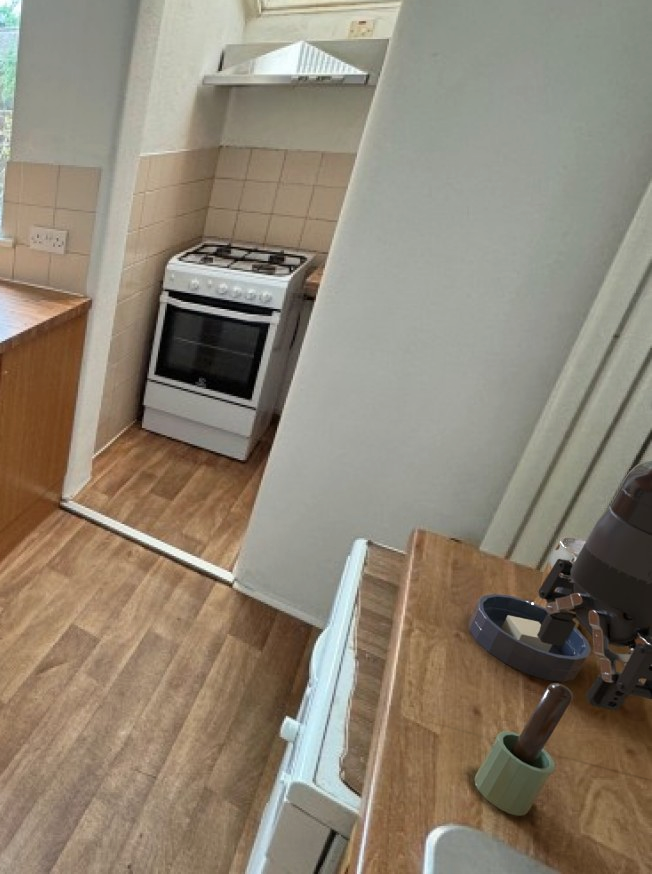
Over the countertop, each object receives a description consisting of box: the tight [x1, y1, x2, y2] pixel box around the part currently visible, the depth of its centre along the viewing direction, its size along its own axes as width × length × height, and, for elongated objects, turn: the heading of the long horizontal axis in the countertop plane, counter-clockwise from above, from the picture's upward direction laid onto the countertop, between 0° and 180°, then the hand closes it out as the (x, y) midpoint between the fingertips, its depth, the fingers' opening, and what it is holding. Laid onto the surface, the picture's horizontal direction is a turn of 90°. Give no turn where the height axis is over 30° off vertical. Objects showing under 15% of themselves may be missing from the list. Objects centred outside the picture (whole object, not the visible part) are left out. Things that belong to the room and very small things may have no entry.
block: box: [501, 615, 552, 652], centre depth 95 cm, size 4×4×4 cm
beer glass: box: [531, 536, 587, 630], centre depth 99 cm, size 7×7×15 cm
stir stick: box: [511, 682, 574, 766], centre depth 72 cm, size 2×2×19 cm
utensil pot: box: [474, 730, 556, 817], centre depth 74 cm, size 5×5×9 cm
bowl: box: [467, 593, 592, 683], centre depth 95 cm, size 13×13×6 cm
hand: (572, 671), depth 68 cm, fingers open, 8 cm apart
